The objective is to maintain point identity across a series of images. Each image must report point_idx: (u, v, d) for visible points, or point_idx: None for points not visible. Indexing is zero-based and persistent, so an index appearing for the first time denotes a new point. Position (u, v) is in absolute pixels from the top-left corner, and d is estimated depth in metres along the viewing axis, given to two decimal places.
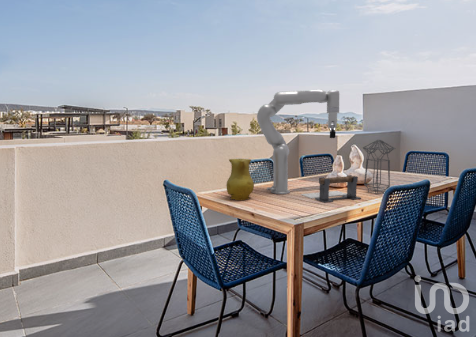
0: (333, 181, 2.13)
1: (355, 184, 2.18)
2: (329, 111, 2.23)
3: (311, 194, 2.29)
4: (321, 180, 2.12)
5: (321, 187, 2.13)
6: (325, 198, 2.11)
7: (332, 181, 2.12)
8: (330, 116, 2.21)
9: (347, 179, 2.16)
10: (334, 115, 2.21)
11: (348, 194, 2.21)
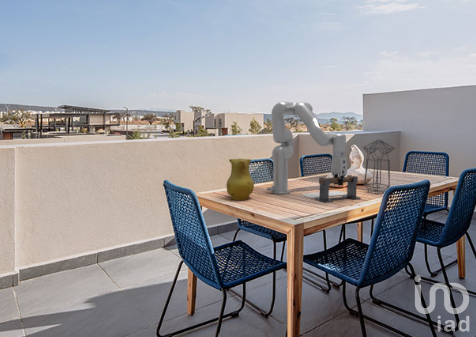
0: (333, 181, 2.13)
1: (355, 184, 2.18)
2: None
3: (311, 194, 2.29)
4: (321, 180, 2.12)
5: (321, 187, 2.13)
6: (325, 198, 2.11)
7: (332, 181, 2.12)
8: None
9: (347, 179, 2.16)
10: None
11: (348, 194, 2.21)
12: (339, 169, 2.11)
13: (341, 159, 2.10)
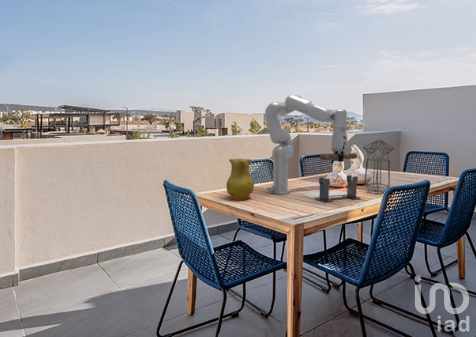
0: (333, 157, 2.11)
1: (355, 184, 2.18)
2: None
3: (311, 194, 2.29)
4: (321, 156, 2.10)
5: (321, 187, 2.13)
6: (325, 198, 2.11)
7: (332, 157, 2.11)
8: None
9: (347, 155, 2.14)
10: None
11: (348, 194, 2.21)
12: (339, 145, 2.09)
13: (342, 135, 2.08)
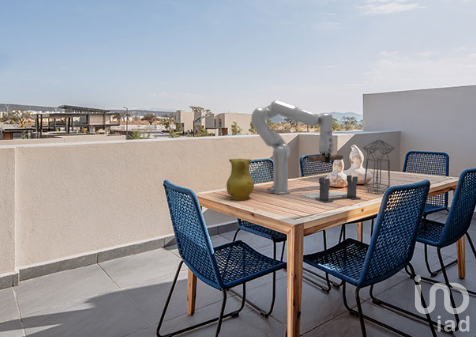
0: (320, 159, 2.24)
1: (355, 184, 2.18)
2: None
3: (311, 194, 2.29)
4: (309, 158, 2.23)
5: (321, 187, 2.13)
6: (325, 198, 2.11)
7: (319, 159, 2.24)
8: None
9: (334, 156, 2.27)
10: None
11: (348, 194, 2.21)
12: (326, 147, 2.22)
13: (328, 137, 2.21)
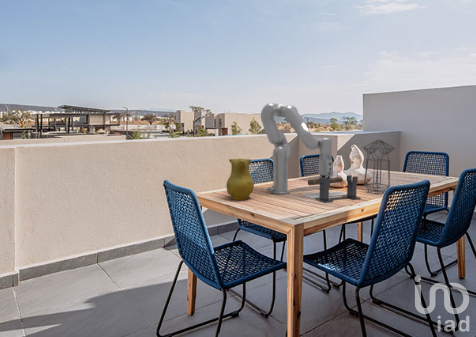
0: None
1: (355, 184, 2.18)
2: None
3: (311, 194, 2.29)
4: (309, 181, 2.25)
5: (321, 187, 2.13)
6: (325, 198, 2.11)
7: None
8: None
9: (334, 180, 2.29)
10: None
11: (348, 194, 2.21)
12: (325, 171, 2.24)
13: (327, 161, 2.23)
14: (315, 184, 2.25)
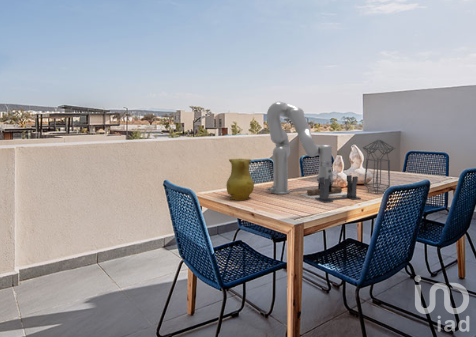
0: (319, 192, 2.27)
1: (355, 184, 2.18)
2: None
3: None
4: (308, 191, 2.26)
5: (321, 187, 2.13)
6: (325, 198, 2.11)
7: (318, 192, 2.27)
8: None
9: (333, 190, 2.30)
10: None
11: (348, 194, 2.21)
12: (325, 178, 2.25)
13: (327, 168, 2.24)
14: (314, 194, 2.26)
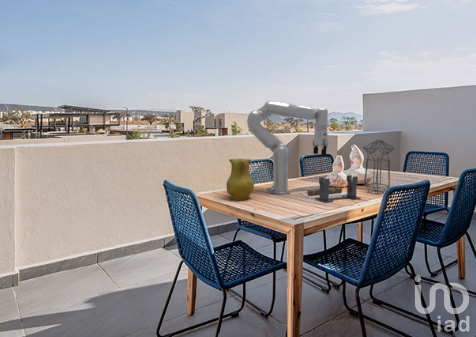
0: None
1: (355, 184, 2.18)
2: None
3: None
4: (308, 192, 2.25)
5: (321, 187, 2.13)
6: (325, 198, 2.11)
7: (319, 193, 2.26)
8: None
9: (333, 190, 2.30)
10: None
11: (348, 194, 2.21)
12: (320, 141, 2.27)
13: (322, 132, 2.26)
14: None
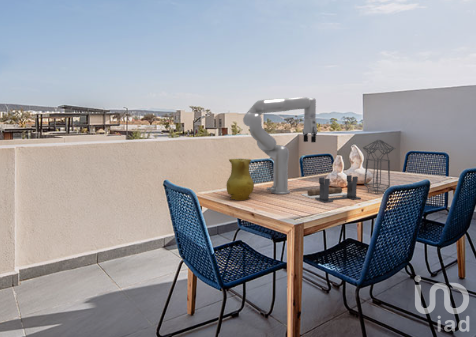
0: None
1: (355, 184, 2.18)
2: None
3: None
4: (308, 192, 2.25)
5: (321, 187, 2.13)
6: (325, 198, 2.11)
7: (319, 193, 2.26)
8: None
9: (333, 191, 2.30)
10: None
11: (348, 194, 2.21)
12: (309, 129, 2.38)
13: (311, 120, 2.37)
14: None
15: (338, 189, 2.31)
